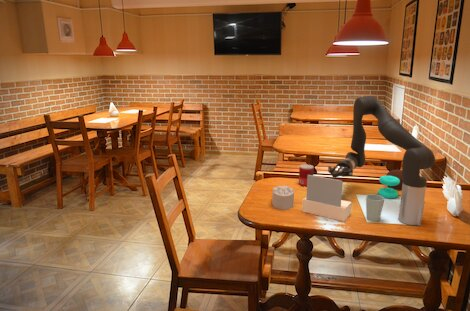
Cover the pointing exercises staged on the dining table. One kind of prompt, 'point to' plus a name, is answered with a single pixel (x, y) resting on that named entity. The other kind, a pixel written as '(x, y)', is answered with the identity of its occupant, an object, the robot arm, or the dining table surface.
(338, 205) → the flap
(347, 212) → the carton
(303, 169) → the canned food
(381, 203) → the cup
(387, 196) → the pair of teal discs
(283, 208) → the paw print tray
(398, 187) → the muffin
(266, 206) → the dining table surface
